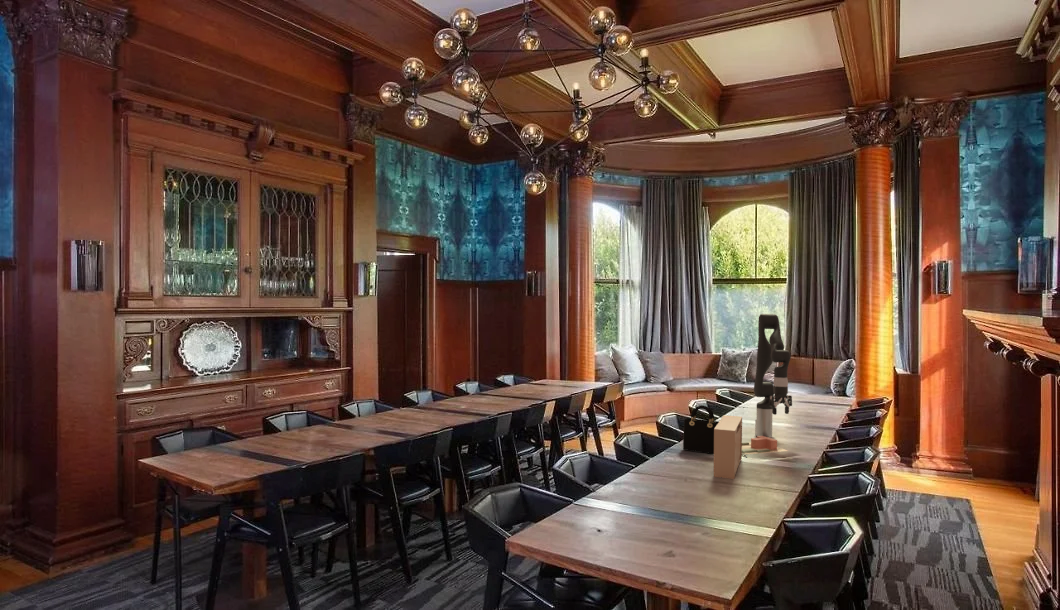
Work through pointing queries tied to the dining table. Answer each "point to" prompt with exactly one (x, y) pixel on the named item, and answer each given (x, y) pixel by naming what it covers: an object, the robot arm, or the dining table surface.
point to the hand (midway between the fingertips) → (780, 414)
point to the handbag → (699, 432)
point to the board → (748, 450)
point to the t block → (763, 443)
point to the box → (727, 446)
